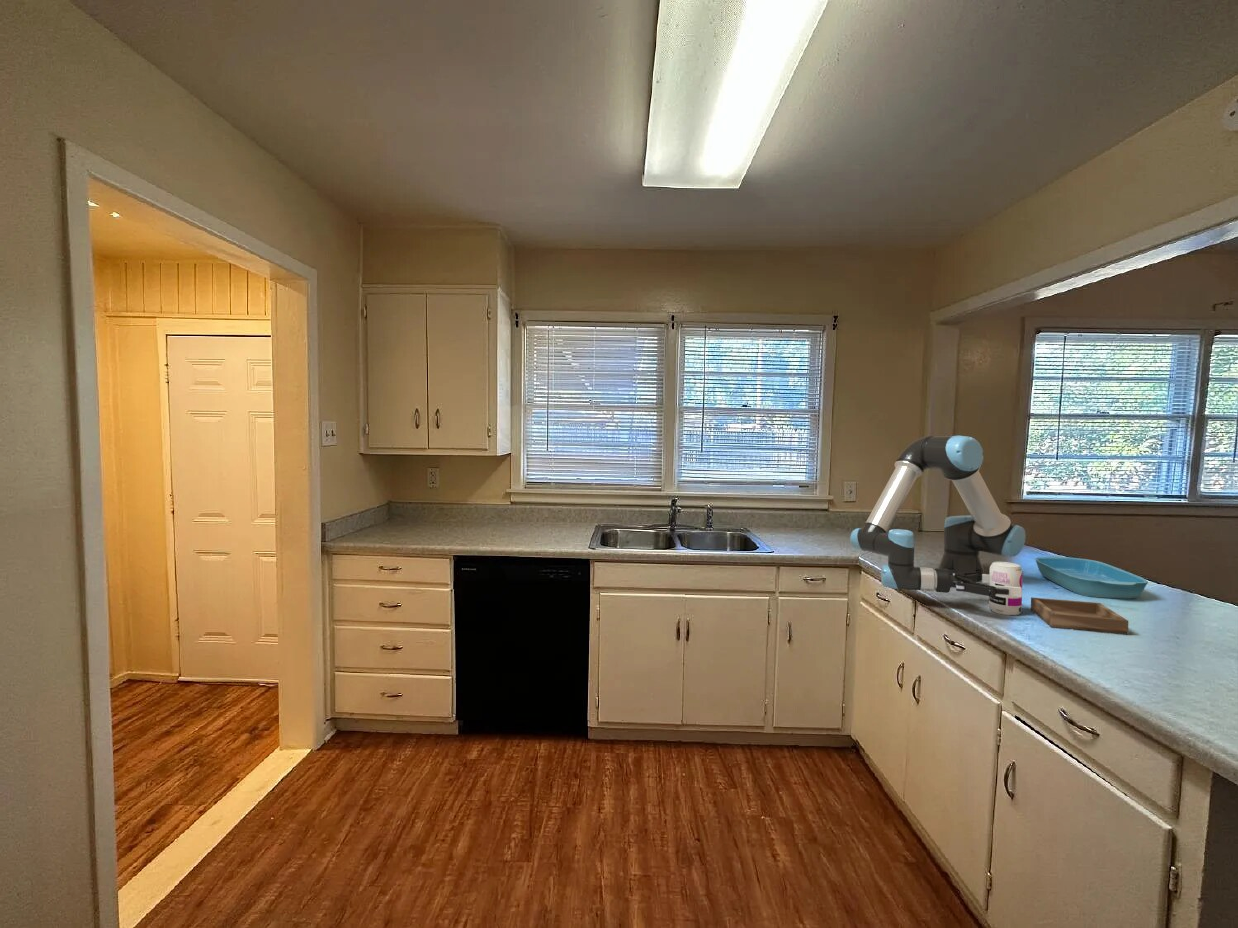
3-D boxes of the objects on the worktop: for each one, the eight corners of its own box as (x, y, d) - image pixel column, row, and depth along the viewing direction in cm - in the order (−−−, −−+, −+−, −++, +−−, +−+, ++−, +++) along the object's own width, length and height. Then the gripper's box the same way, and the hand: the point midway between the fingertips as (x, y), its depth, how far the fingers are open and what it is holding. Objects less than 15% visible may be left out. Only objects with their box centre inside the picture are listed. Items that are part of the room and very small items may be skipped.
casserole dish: (1163, 605, 166) (1164, 583, 166) (1080, 601, 172) (1081, 580, 171) (1090, 575, 202) (1091, 556, 202) (1024, 572, 208) (1024, 554, 207)
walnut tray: (1030, 609, 164) (1031, 597, 163) (1099, 615, 158) (1099, 602, 157) (1051, 627, 149) (1051, 613, 149) (1127, 634, 143) (1128, 620, 142)
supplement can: (1019, 609, 164) (1020, 562, 163) (1023, 617, 157) (1024, 568, 156) (987, 605, 168) (988, 560, 167) (990, 613, 161) (991, 565, 160)
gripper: (927, 581, 181) (1000, 586, 173) (942, 603, 158) (1027, 610, 150) (927, 559, 180) (1001, 564, 172) (942, 578, 157) (1028, 584, 149)
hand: (1013, 585), depth 161 cm, fingers open, 13 cm apart
